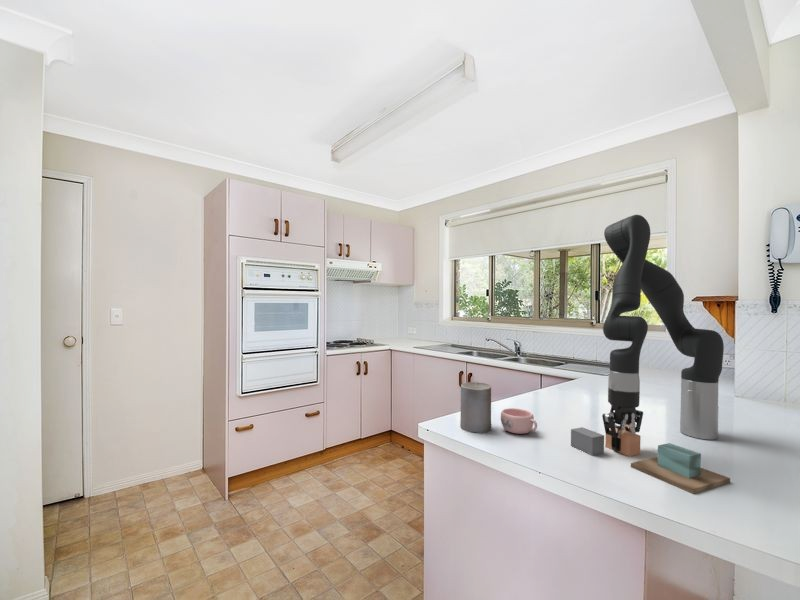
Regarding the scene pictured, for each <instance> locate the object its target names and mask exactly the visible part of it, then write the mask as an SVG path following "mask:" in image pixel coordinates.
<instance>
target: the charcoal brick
mask: <svg viewBox="0 0 800 600" xmlns="http://www.w3.org/2000/svg"><path fill="white" fill-rule="evenodd" d="M571 446H572V447H571ZM570 447H571V448H573V447H574V449H575V448H576V450H578V451H580V450H581V451H580V452H582V451H583V452H582V453H584V452H585V453H584V454H586V455H589V456H592V457H594V456H599V455H602V454H603V453H604V454H605V435H604V434H601V433H599V432H597V431H593V430H590V429H588V428H586V427H577V428H571V429H570ZM598 454H599V455H598ZM604 454H603V455H604Z"/></svg>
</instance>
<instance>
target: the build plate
mask: <svg viewBox="0 0 800 600" xmlns="http://www.w3.org/2000/svg"><path fill="white" fill-rule="evenodd" d="M630 468H631V469H632V468H633V469H635V470H637V471H640V472H641V473H644V474H646V475H648V476H651V477H653V478H656V479H658V480H661V481H663V482H665V483H668V484H669V485H672V486H674V487H677V488H679V489H681V490H683V491H686V492H688V493H690V494H693V495H694V494H698V493H700V492H703V491H707V490H710V489H712V488H713V489H714V488H718V487H720V486H723V485H727V484H729V483H728V482H730V483H731V477H727V476H726V475H722V474H720V473H718V472H715V471H712V470H709V469H708V468H704V467H702V453H700V452H697V451H695V450H691V449H688V448H685V447H684V446H683V447H682V446H680V445H676V444H674V443H671V442H668V443H664V444H663V443H662V444H658V445H657V456H655V457H651V458H647V459H643V460H638V461H637V460H636V461H633V462H630ZM726 483H727V484H726Z"/></svg>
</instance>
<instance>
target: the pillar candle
mask: <svg viewBox="0 0 800 600" xmlns="http://www.w3.org/2000/svg"><path fill="white" fill-rule="evenodd" d="M459 422H460V425H459V427H460V428H461V430H463V431H466V432H469V433H477V434H478V433H479V434H482V433H483V434H484V433H488V432H490V431H491V429H492V385H490V384H489V383H485V382H478V381H473V382H472V381H468V382H463V383H461V385H460V421H459Z"/></svg>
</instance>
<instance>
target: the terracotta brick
mask: <svg viewBox="0 0 800 600" xmlns="http://www.w3.org/2000/svg"><path fill="white" fill-rule="evenodd" d="M609 429H610V428H609ZM610 430H611V429H610ZM617 431H618V429H617V428H616V433H617ZM620 438H621V451H615V450H613V449H612V447H611V443H612V442H611V440H612V437H611V435H608V434H606V433H605V442H604V448H607V449H610V450H612V451H613V452H617V453H620V454H622V455H624V456H626V457H632V456H633V457H634V456H637V455H641V435H639V434H637V433H635V434H634V433H631V432H629V431H626V430H622V434H621V437H620Z"/></svg>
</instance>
